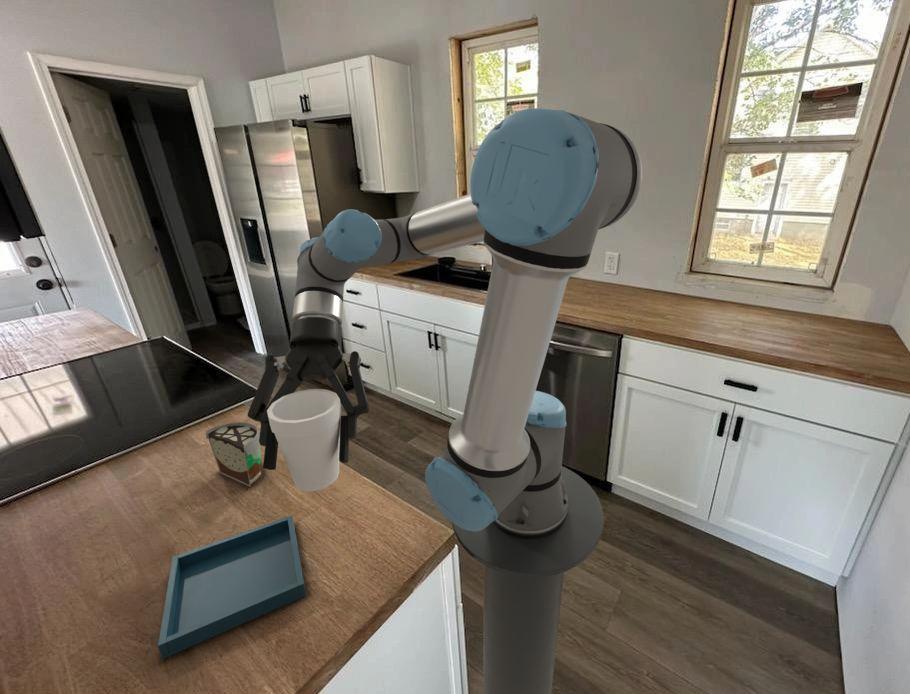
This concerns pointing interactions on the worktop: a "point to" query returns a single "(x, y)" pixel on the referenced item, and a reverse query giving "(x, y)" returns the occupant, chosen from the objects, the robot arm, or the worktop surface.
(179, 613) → the tray
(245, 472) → the food container
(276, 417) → the foam cup
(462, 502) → the robot arm
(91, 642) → the worktop surface
